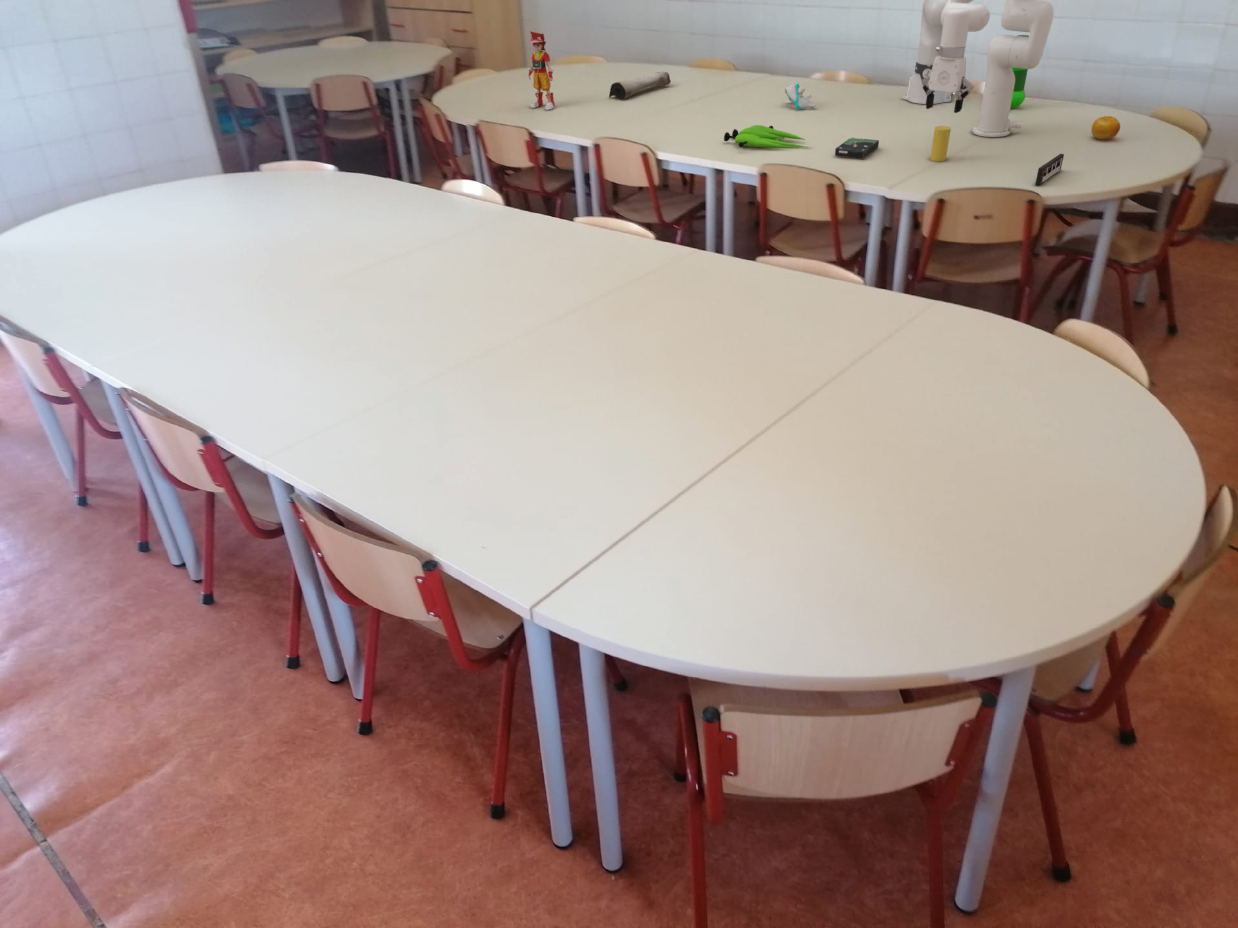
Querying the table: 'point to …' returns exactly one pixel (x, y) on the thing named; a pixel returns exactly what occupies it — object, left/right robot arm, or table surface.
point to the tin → (940, 143)
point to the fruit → (1105, 127)
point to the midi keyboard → (1049, 169)
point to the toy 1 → (541, 71)
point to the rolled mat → (638, 84)
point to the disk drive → (856, 148)
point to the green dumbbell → (1019, 85)
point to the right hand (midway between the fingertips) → (943, 110)
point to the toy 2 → (761, 137)
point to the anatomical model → (798, 96)
